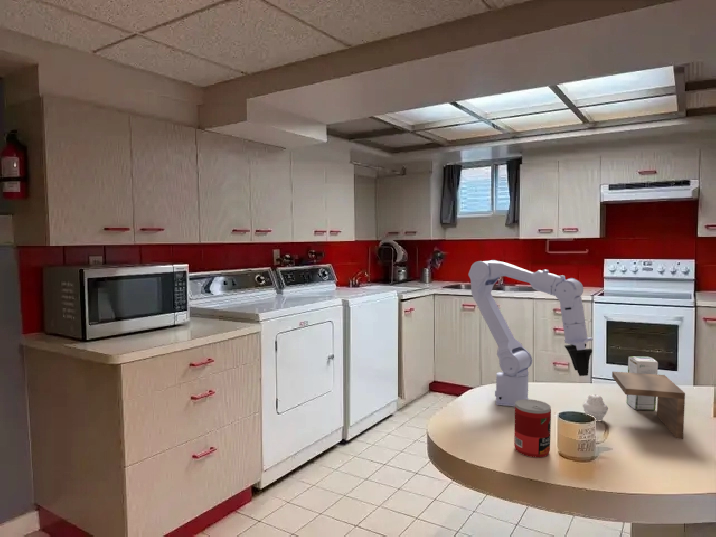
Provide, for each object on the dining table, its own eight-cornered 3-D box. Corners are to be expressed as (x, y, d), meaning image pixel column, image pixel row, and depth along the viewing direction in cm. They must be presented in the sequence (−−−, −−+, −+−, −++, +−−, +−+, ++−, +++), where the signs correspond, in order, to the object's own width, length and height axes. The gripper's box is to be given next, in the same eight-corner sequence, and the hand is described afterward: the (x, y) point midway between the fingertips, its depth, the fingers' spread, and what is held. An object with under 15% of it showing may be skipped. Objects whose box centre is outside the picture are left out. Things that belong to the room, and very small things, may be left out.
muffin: (584, 422, 132) (585, 397, 131) (580, 414, 137) (581, 389, 137) (609, 424, 130) (610, 398, 129) (604, 416, 136) (605, 391, 135)
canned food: (546, 461, 109) (547, 413, 109) (510, 453, 114) (510, 406, 113) (553, 448, 116) (554, 402, 115) (518, 441, 120) (519, 397, 119)
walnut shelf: (624, 433, 124) (625, 388, 124) (611, 411, 140) (612, 371, 139) (683, 438, 121) (685, 393, 120) (662, 415, 136) (664, 374, 135)
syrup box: (646, 403, 146) (648, 355, 145) (656, 411, 140) (658, 360, 139) (626, 403, 146) (627, 355, 145) (635, 410, 140) (637, 360, 139)
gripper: (594, 324, 126) (602, 377, 126) (585, 318, 140) (592, 366, 140) (565, 326, 128) (572, 379, 128) (559, 321, 142) (566, 368, 142)
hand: (581, 372), depth 134 cm, fingers open, 7 cm apart
